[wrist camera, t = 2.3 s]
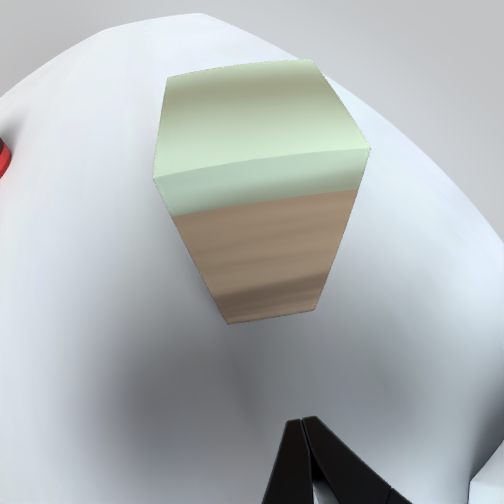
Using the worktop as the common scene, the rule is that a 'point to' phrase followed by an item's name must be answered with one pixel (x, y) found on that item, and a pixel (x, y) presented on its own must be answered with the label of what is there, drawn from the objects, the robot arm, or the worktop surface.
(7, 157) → the canned food
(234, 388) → the worktop surface
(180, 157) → the green and tan block
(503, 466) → the jar
